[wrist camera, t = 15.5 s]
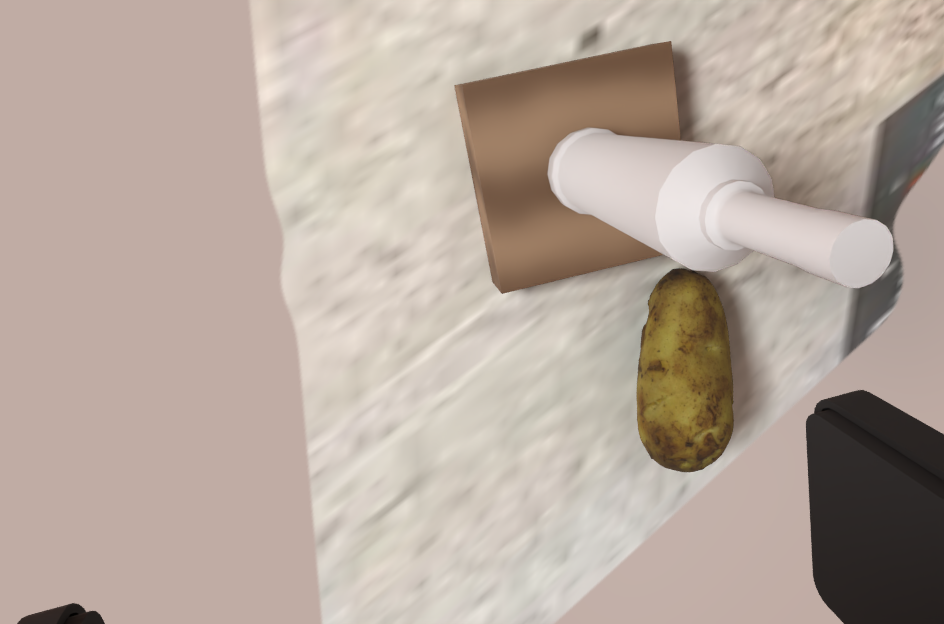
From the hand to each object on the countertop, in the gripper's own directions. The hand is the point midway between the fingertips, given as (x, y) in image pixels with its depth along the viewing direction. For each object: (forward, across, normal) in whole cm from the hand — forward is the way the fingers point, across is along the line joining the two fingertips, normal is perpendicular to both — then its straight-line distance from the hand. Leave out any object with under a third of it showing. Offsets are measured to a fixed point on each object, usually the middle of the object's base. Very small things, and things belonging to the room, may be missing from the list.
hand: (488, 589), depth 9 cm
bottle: (+36, -13, +1) cm, 38 cm away
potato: (+38, -18, +16) cm, 45 cm away
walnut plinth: (+38, -13, +1) cm, 40 cm away
